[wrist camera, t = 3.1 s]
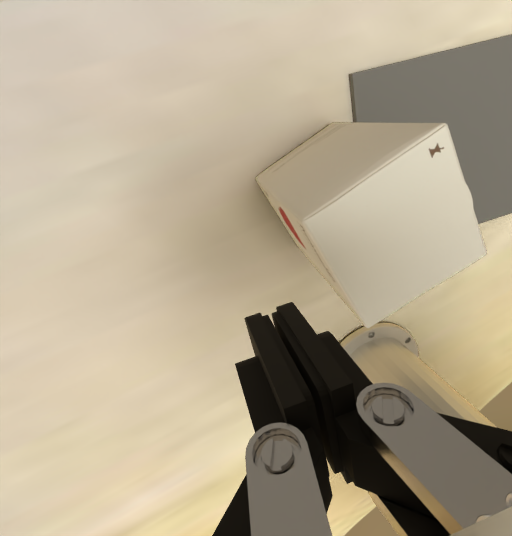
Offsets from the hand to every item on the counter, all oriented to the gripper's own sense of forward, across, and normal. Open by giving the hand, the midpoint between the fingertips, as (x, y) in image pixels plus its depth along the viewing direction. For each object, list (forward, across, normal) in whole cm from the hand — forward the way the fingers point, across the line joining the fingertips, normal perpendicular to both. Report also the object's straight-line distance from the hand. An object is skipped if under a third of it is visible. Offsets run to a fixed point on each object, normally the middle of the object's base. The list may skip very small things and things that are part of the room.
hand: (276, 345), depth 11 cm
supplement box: (+21, -10, +1) cm, 24 cm away
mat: (+21, -25, +1) cm, 33 cm away
